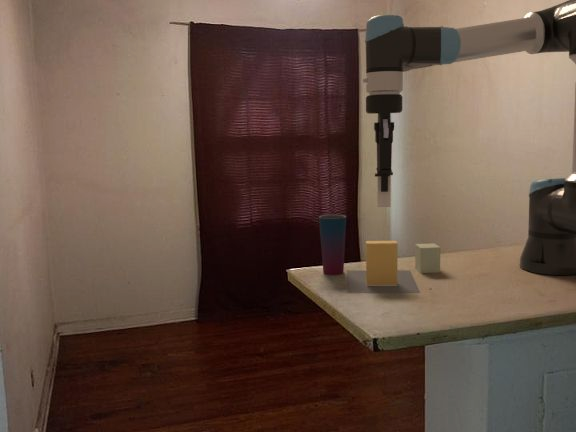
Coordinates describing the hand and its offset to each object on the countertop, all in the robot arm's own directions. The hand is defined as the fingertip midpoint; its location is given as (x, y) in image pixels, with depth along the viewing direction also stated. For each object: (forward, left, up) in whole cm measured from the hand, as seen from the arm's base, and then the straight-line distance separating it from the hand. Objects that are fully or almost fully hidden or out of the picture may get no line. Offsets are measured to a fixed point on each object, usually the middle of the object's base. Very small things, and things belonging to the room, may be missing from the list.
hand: (383, 206), depth 126 cm
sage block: (-12, -22, -20) cm, 33 cm away
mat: (0, -12, -20) cm, 24 cm away
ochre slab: (0, -9, -20) cm, 22 cm away
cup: (+11, -20, -20) cm, 31 cm away
